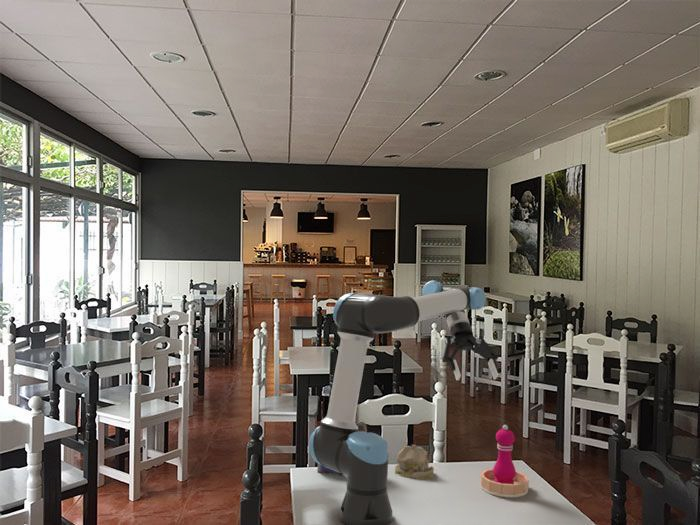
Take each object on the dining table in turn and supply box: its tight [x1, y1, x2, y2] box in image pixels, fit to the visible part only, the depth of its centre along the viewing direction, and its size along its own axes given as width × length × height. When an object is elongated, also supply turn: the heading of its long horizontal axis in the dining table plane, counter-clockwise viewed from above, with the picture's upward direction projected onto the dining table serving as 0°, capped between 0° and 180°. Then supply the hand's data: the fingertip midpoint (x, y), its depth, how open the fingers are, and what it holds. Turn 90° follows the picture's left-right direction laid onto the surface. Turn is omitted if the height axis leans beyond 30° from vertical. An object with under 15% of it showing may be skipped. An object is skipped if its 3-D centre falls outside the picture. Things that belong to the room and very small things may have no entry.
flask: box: [316, 463, 343, 476], centre depth 209 cm, size 9×3×11 cm, turn 72°
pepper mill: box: [492, 424, 517, 484], centre depth 198 cm, size 7×7×20 cm
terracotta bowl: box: [479, 468, 530, 499], centre depth 198 cm, size 15×15×4 cm
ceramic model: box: [394, 443, 435, 479], centre depth 211 cm, size 14×11×10 cm
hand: (477, 377), depth 201 cm, fingers open, 13 cm apart
